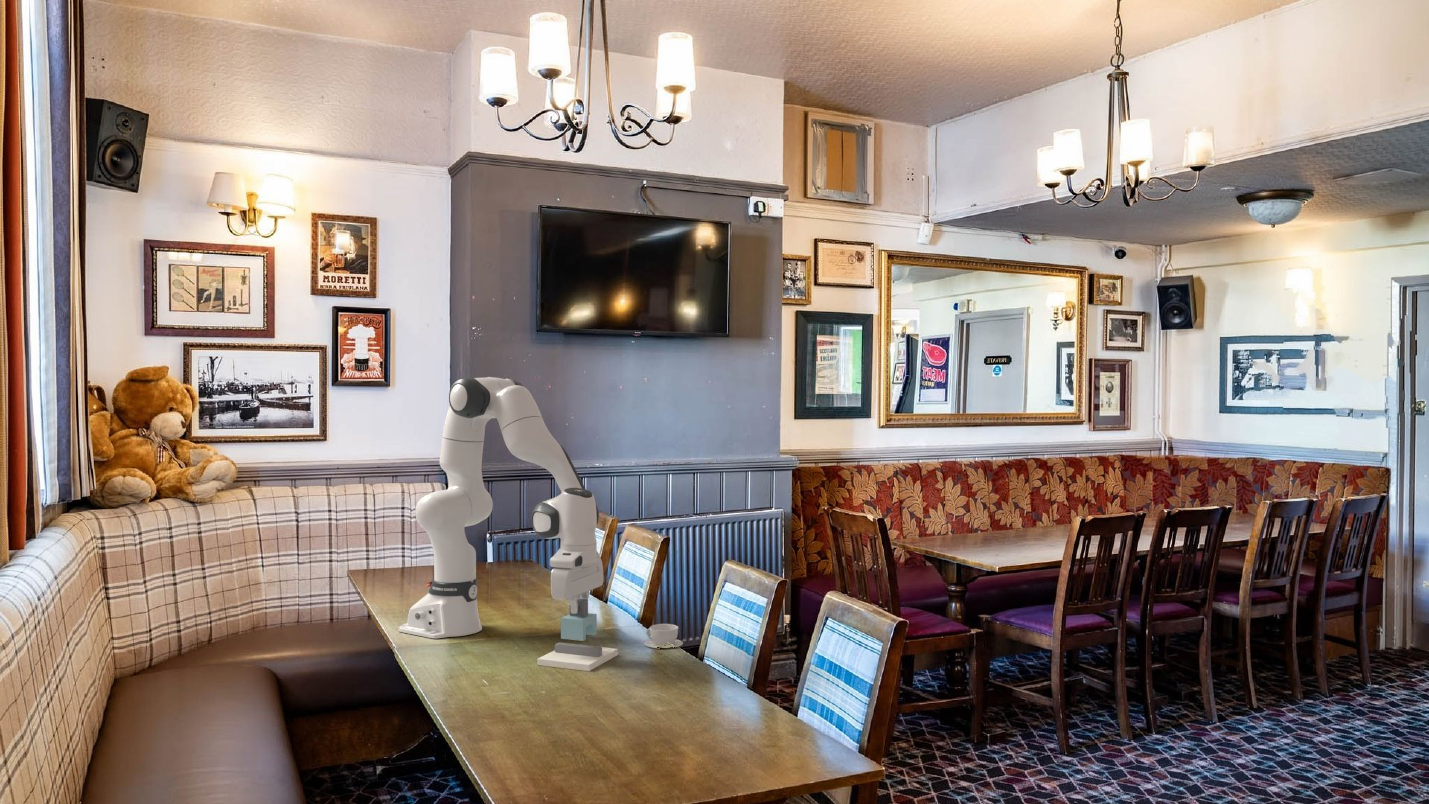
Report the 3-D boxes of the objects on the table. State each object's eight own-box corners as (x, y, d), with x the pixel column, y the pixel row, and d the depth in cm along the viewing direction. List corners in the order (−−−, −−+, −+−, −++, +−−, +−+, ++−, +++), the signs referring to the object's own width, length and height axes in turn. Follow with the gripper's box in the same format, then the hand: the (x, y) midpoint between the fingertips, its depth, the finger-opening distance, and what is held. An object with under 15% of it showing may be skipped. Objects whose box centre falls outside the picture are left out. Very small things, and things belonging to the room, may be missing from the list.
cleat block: (560, 638, 236) (560, 601, 236) (575, 631, 243) (575, 595, 243) (582, 640, 234) (582, 603, 234) (596, 634, 241) (596, 597, 241)
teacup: (689, 642, 256) (689, 624, 256) (672, 652, 247) (672, 633, 247) (655, 638, 260) (655, 621, 260) (637, 647, 251) (637, 629, 251)
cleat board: (537, 665, 234) (537, 650, 234) (568, 649, 248) (568, 635, 248) (588, 671, 229) (588, 656, 229) (617, 655, 243) (617, 641, 243)
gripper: (587, 547, 249) (587, 601, 249) (545, 561, 230) (546, 619, 230) (609, 549, 247) (609, 603, 247) (569, 562, 228) (569, 621, 228)
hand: (578, 611), depth 239 cm, fingers closed on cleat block
